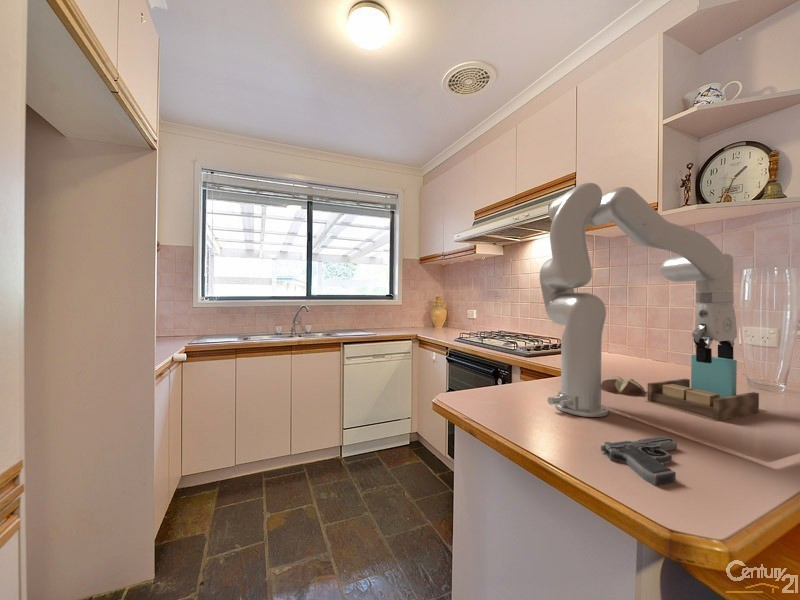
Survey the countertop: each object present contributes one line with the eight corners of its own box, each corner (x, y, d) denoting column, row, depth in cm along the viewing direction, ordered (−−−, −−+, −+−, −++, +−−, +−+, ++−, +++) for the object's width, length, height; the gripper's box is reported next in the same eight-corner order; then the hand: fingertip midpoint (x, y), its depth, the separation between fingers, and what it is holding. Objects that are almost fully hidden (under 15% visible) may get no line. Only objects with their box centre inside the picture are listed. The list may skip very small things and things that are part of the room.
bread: (607, 387, 110) (607, 372, 110) (648, 395, 101) (648, 379, 101) (594, 393, 103) (594, 377, 103) (637, 402, 95) (637, 385, 94)
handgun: (729, 460, 56) (658, 431, 68) (654, 474, 52) (592, 440, 63) (729, 474, 56) (658, 443, 68) (654, 489, 52) (591, 453, 63)
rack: (715, 425, 77) (716, 400, 77) (645, 404, 92) (645, 383, 92) (767, 414, 84) (767, 391, 84) (694, 397, 99) (694, 377, 99)
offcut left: (683, 408, 85) (683, 389, 85) (662, 402, 90) (662, 385, 90) (692, 407, 87) (693, 388, 87) (671, 401, 92) (672, 383, 91)
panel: (731, 410, 85) (732, 360, 85) (691, 399, 93) (691, 354, 93) (736, 409, 85) (736, 360, 85) (695, 399, 94) (695, 354, 94)
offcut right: (709, 416, 80) (709, 395, 80) (686, 409, 85) (686, 390, 85) (719, 414, 82) (719, 394, 82) (695, 407, 86) (695, 389, 86)
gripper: (711, 299, 83) (712, 366, 83) (750, 298, 88) (751, 360, 89) (678, 299, 90) (679, 361, 90) (716, 298, 96) (716, 356, 96)
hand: (714, 360), depth 89 cm, fingers open, 9 cm apart
